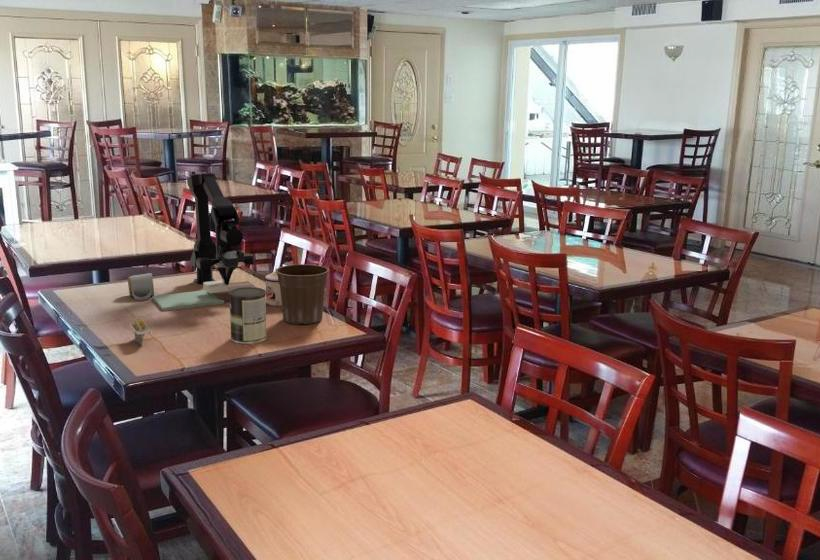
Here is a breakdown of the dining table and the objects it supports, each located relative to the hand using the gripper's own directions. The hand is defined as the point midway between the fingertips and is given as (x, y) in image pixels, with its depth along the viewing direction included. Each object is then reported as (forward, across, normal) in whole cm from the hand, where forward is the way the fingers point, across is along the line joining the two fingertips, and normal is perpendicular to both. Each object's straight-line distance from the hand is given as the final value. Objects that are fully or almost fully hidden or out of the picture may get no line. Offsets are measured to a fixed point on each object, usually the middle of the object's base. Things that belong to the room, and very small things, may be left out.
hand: (226, 285), depth 267 cm
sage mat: (+4, -13, 0) cm, 14 cm away
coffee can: (+4, -8, -47) cm, 48 cm away
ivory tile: (+1, -4, 0) cm, 4 cm away
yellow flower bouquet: (+5, -36, -37) cm, 51 cm away
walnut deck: (+4, +3, 0) cm, 5 cm away
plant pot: (+4, +13, -36) cm, 39 cm away
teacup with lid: (+4, +14, -16) cm, 22 cm away
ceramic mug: (+4, -25, +13) cm, 29 cm away
